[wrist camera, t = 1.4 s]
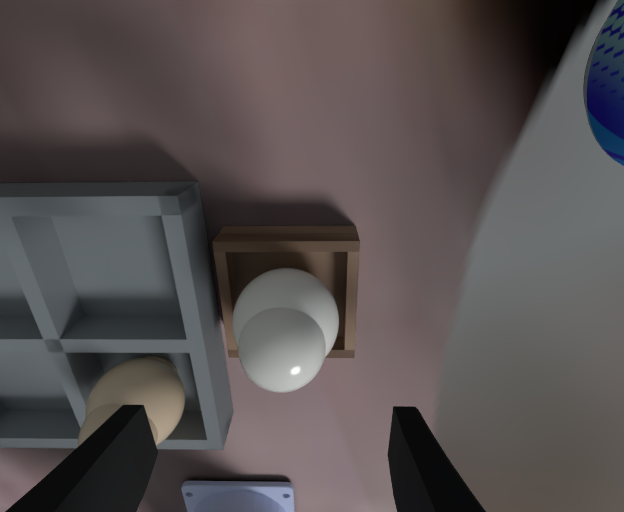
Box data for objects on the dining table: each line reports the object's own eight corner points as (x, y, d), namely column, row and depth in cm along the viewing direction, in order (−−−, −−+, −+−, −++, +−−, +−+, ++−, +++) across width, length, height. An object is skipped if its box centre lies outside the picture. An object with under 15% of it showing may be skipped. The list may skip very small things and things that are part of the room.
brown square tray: (351, 333, 19) (354, 357, 18) (237, 333, 19) (228, 357, 18) (355, 225, 17) (359, 241, 15) (223, 226, 17) (212, 241, 15)
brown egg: (202, 401, 21) (163, 500, 16) (127, 400, 21) (64, 499, 16) (189, 340, 19) (141, 430, 14) (107, 339, 19) (29, 429, 14)
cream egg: (336, 331, 18) (342, 424, 13) (248, 331, 18) (220, 424, 13) (337, 250, 16) (345, 323, 11) (239, 251, 16) (202, 323, 11)
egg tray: (233, 412, 22) (223, 449, 20) (7, 410, 22) (-30, 447, 20) (198, 181, 16) (177, 195, 14) (-113, 184, 16) (-186, 198, 14)
